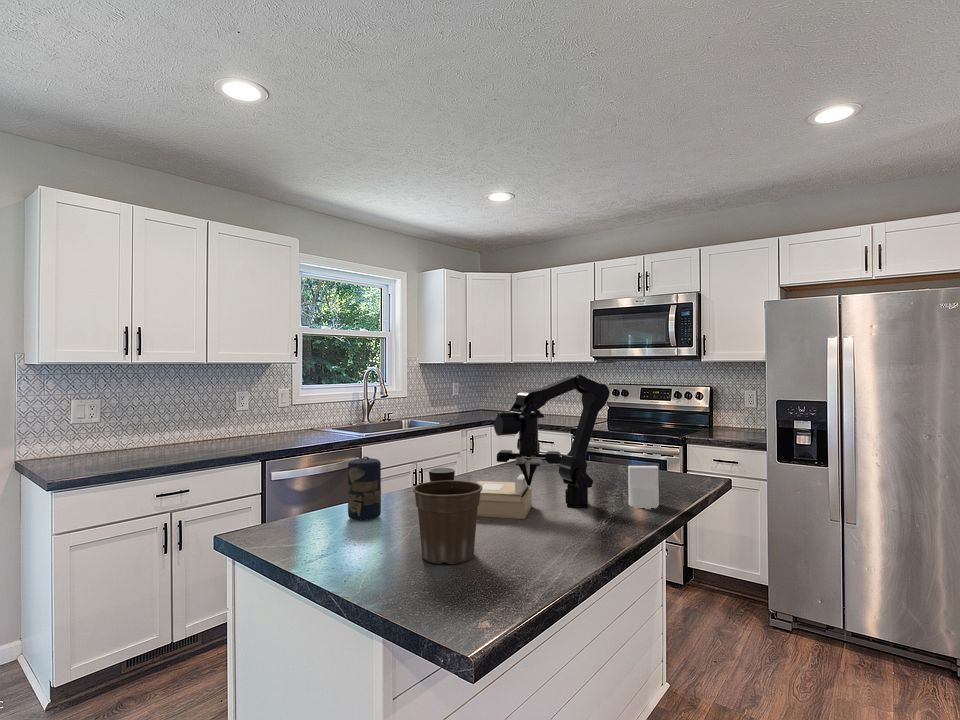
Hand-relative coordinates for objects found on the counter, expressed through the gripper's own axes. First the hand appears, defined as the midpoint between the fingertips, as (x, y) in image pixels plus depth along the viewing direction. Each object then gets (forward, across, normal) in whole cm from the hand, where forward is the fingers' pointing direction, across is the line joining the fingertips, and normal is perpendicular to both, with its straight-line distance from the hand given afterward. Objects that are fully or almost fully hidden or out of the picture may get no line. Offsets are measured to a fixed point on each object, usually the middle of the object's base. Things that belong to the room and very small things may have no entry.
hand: (529, 485), depth 163 cm
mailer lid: (+3, +10, 0) cm, 10 cm away
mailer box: (+8, +8, 0) cm, 12 cm away
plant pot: (+8, +14, +40) cm, 43 cm away
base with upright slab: (+8, -34, -15) cm, 38 cm away
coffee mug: (+8, +30, -10) cm, 33 cm away
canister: (+8, +46, +15) cm, 49 cm away
